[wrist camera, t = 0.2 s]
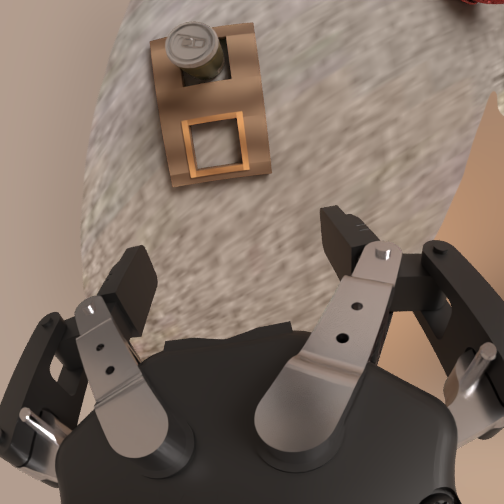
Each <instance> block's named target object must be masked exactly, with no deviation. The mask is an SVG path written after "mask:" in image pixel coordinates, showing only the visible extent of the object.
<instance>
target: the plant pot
mask: <svg viewBox="0 0 504 504" xmlns="http://www.w3.org/2000/svg"><path fill="white" fill-rule="evenodd" d="M461 1H463V2H465V3H468V4H477V3H478V2H480V3H485V4H504V0H461Z"/></svg>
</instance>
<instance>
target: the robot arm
mask: <svg viewBox="0 0 504 504" xmlns="http://www.w3.org/2000/svg"><path fill="white" fill-rule="evenodd" d="M320 221H321V233H322V244H323V248H324V252H325V254H326V256H327V258H328V259H329V261H330V263H331V265H332V267H333V269H334V270H335V272H336V274H337V276H338V278H339V280H340V284H339V285H338V287H337V289H336V291H335V293H334V295H333V297H332V298H331V300H330V302H329V304H328V306H327V307H326V309H325V311H324V313H323V314H322V316H321V318H320V320H319V321H318V323H317V325H316V327H315V328H314V330H313V332H307V331H292V327H291V323H290V321H289V322H284V323H279V324H274V325H269V326H264V327H258V328H256V329H253V330H250V331H248V332H245V333H242V334H239V335H237V336H234V337H231V338H228V339H205V338H188V339H180V340H172V341H165V346H164V350H163V351H161V352H159V353H156V354H154V355H152V356H150V357H149V358H147V359H146V360H144V361H143V362H142V360H141V359H140V357H139V356H138V354H137V352H136V351H135V349H134V347H133V346H132V344H131V343H130V341H129V340H130V338H133V337H141V336H142V333H143V329H144V326H145V323H146V319H147V316H148V313H149V310H150V307H151V303H152V300H153V297H154V294H155V291H156V288H157V284H158V281H157V275H156V272H155V270H154V268H153V265H152V263H151V261H150V258H149V256H148V253H147V251H146V249H145V247H144V246H143V245H140V246H135V247H131V248H128V249H126V251H125V253H124V254H123V256H122V258H121V259H120V261H119V262H118V263H117V264H116V265H115V266H114V267H113V268H112V269H111V271H110V273H109V276H107V278H106V281H104V283H103V285H102V287H101V288H100V290H99V292H98V294H97V296H92V297H89V298H87V299H85V300H84V301H83V302H81V303H80V304H79V305H78V307H77V308H76V310H75V316H74V317H72V318H70V319H67V320H63V319H62V317H61V316H60V314H59V313H58V312H53V313H50V314H48V315H46V316H45V317H44V318H43V319H42V320H41V321H40V322H39V323H38V325H37V327H36V329H35V330H34V332H33V334H32V336H31V338H30V340H29V342H28V343H27V346H26V347H25V349H24V351H23V354H22V356H21V358H20V360H19V362H18V364H17V366H16V368H15V370H14V373H13V375H12V377H11V380H10V382H9V384H8V387H7V389H6V392H5V394H4V397H3V399H2V402H1V405H0V457H1V458H3V459H4V460H6V461H7V462H9V463H10V464H11V465H12V466H14V467H15V468H17V469H18V470H20V471H22V472H24V473H25V474H27V475H29V476H31V477H32V478H34V479H37V480H40V481H42V482H44V483H46V484H48V485H49V486H52V487H54V488H59V490H60V497H61V504H461V502H460V500H459V498H458V496H457V493H456V488H455V476H454V474H455V457H456V450H457V449H458V448H460V447H462V446H464V445H465V444H467V443H469V442H471V441H473V440H474V439H476V438H479V439H482V440H486V439H489V438H491V437H493V436H494V435H495V434H497V433H498V432H499V431H500V430H502V428H504V301H503V300H502V299H501V297H500V296H499V295H498V294H497V293H496V292H495V291H494V289H493V288H492V287H491V286H490V284H489V283H488V282H487V281H486V280H485V279H484V278H483V277H482V276H481V274H480V273H479V272H478V271H477V270H476V269H475V268H474V267H473V266H472V265H471V264H470V263H469V262H468V260H467V259H466V258H465V257H464V256H462V255H461V253H460V252H459V251H458V250H457V249H456V248H455V247H454V246H452V245H451V244H449V243H447V242H444V241H439V240H432V241H428V242H426V243H425V244H424V245H423V249H422V254H403V253H402V250H401V248H400V247H399V246H398V245H396V244H394V243H392V242H388V241H380V240H379V239H378V237H377V236H376V235H375V234H374V233H373V232H372V231H371V230H370V229H369V228H368V227H367V226H366V225H365V224H364V222H363V221H362V220H361V219H360V218H358V217H356V216H354V215H352V214H345V213H344V212H343V211H342V210H341V209H340V208H339V207H338V206H337V205H335V206H330V207H324V208H320ZM446 298H448V299H449V301H450V303H451V306H450V304H449V303H448V302H447V300H446ZM397 311H413V313H414V315H415V317H416V318H417V320H418V322H419V323H420V325H421V327H422V329H423V330H424V332H425V334H426V336H427V338H428V340H429V341H430V343H431V345H432V347H433V349H434V351H435V353H436V355H437V357H438V359H439V360H440V363H441V365H442V367H443V369H444V371H445V373H446V375H447V377H448V378H447V380H446V381H445V384H444V389H443V392H444V397H445V403H446V405H445V404H444V403H443V402H442V401H441V400H439V399H438V398H436V397H434V396H433V395H431V394H429V393H427V392H425V391H423V390H421V389H419V388H418V387H415V386H414V385H412V384H410V383H408V382H406V381H404V380H402V379H400V378H398V377H397V376H395V375H393V374H391V373H389V372H388V371H386V370H384V369H382V368H380V367H378V366H377V364H378V361H379V358H380V354H381V351H382V348H383V344H384V341H385V339H386V335H387V332H388V329H389V326H390V322H391V319H392V315H393V312H397ZM54 355H55V356H56V357H57V358H58V359H59V361H60V362H61V363H62V364H63V368H62V370H61V373H60V376H59V379H58V381H57V382H56V381H55V380H54V379H53V378H52V376H51V374H50V364H51V362H52V359H53V357H54ZM88 381H89V384H90V387H91V390H92V392H93V395H94V398H95V400H96V404H95V405H94V408H95V409H94V410H93V411H92V412H91V413H90V414H89V415H88V416H87V417H86V418H85V419H84V420H83V421H82V422H81V423H80V424H79V425H78V426H77V423H78V419H79V415H80V410H81V407H82V403H83V399H84V395H85V391H86V388H87V384H88Z"/></svg>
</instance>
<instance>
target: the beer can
mask: <svg viewBox="0 0 504 504" xmlns="http://www.w3.org/2000/svg"><path fill="white" fill-rule="evenodd" d="M165 49H166V54H167V57H168V58H169V60H170V61H171V62H172V63H173V64H175V65H176V66H177V67H179V68H180V69H182V70H183V71H185V72H186V73H188V74H189V75H190V76H192V77H194V78H196V79H200V80H208V79H211V78H214V77H215V76H217V75H218V74H219V73H220V72H221V71H222V69H223V67H224V64H225V57H224V54H223V51H222V48H221V45H220V42H219V39H218V37H217V34H216V32H215V31H214V30H213V29H212V28H211V27H210V26H208V25H206V24H204V23H201V22H195V21H194V22H186V23H183V24H181V25H179V26H177V27H176V28H174V29H173V30H172V31H171V32H170V34H169V35H168V37H167V39H166V42H165Z"/></svg>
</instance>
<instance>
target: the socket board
mask: <svg viewBox="0 0 504 504" xmlns="http://www.w3.org/2000/svg"><path fill="white" fill-rule="evenodd" d="M212 29H213V30H214V31H215V32H216V34H217V37H218V39H219V40H223V39H226V40H227V47H228V55H229V62H230V70H231V77H232V79H228V80H221V81H215V82H208V83H203V84H197V85H192V86H187V87H185V85H184V77H183V70H182V69H180V68H179V67H177V66H176V65H175V64H173V63H172V62H171V61H170V60H169V58H168V57H167V54H166V49H165V42H166V39H167V37H164V38H161V39H157V40H153V41H150V49H151V58H152V66H153V74H154V82H155V90H156V97H157V103H158V110H159V116H160V122H161V129H162V134H163V140H164V146H165V151H166V157H167V162H168V167H169V172H170V177H171V182H172V187H178V186H184V185H190V184H196V183H202V182H208V181H215V180H222V179H229V178H237V177H245V176H253V175H261V174H270V173H272V169H271V160H270V150H269V141H268V132H267V124H266V115H265V107H264V99H263V91H262V83H261V75H260V67H259V60H258V53H257V46H256V39H255V32H254V25H253V23H242V24H233V25H225V26H218V27H212ZM231 118H237V123H238V130H239V138H240V145H241V153H242V160H243V162H242V163H234V164H227V165H220V166H213V167H207V168H201V169H198V168H197V162H196V156H195V150H194V144H193V138H192V132H191V126H190V125H194V124H200V123H205V122H211V121H218V120H224V119H231Z"/></svg>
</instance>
